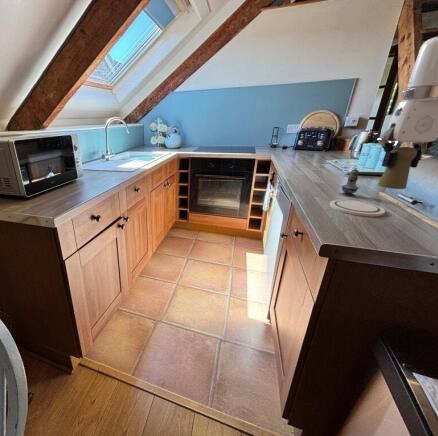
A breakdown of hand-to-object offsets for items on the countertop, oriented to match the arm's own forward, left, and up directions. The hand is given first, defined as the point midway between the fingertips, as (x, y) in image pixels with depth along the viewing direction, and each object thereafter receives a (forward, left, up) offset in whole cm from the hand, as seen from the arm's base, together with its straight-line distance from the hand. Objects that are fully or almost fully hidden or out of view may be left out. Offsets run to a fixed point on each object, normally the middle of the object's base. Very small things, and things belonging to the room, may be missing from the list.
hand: (398, 166), depth 68 cm
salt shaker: (-25, -28, -19) cm, 42 cm away
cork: (0, 0, -6) cm, 6 cm away
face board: (-11, -14, -19) cm, 26 cm away
